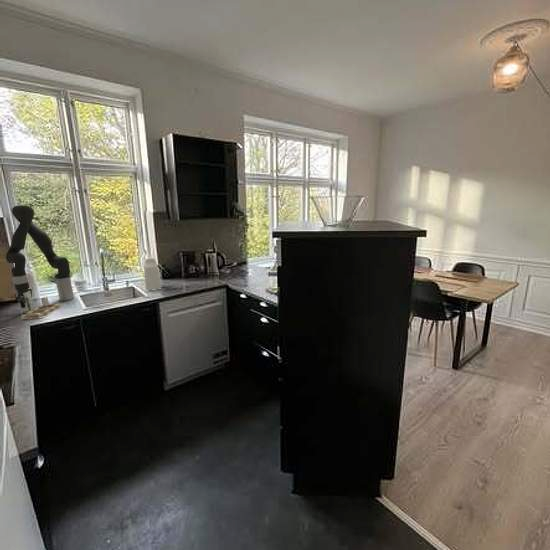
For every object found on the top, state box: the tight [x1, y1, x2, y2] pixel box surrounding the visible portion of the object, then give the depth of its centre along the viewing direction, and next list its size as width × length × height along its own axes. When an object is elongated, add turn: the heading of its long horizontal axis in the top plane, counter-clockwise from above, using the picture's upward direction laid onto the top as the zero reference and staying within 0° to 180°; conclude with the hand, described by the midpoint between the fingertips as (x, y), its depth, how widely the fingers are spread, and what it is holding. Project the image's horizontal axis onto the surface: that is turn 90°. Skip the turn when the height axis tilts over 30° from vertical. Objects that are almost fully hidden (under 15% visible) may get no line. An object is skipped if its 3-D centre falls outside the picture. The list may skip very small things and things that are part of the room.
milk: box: [144, 257, 162, 291], centre depth 254 cm, size 12×12×26 cm
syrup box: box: [16, 291, 35, 315], centre depth 207 cm, size 6×6×14 cm
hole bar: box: [20, 303, 62, 321], centre depth 206 cm, size 23×12×2 cm, turn 9°
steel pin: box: [40, 296, 50, 309], centre depth 210 cm, size 4×4×9 cm
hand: (26, 305), depth 207 cm, fingers closed on syrup box, 6 cm apart
